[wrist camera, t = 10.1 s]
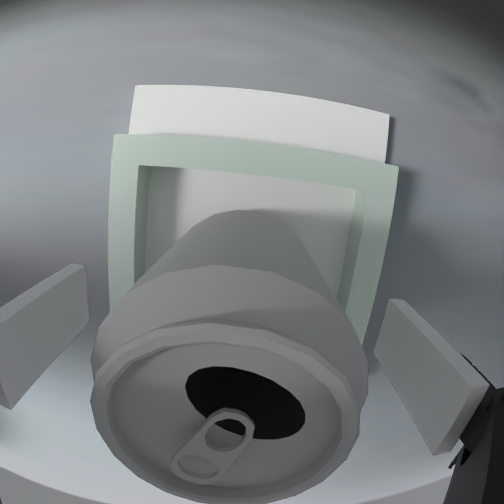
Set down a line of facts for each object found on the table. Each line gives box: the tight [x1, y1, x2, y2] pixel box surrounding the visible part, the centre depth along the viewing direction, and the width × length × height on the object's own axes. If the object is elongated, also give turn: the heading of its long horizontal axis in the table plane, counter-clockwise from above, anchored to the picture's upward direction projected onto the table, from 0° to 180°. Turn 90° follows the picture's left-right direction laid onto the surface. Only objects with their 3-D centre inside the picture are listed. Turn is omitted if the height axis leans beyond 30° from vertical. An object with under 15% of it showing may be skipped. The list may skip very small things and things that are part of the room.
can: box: [90, 210, 368, 504], centre depth 12 cm, size 8×8×12 cm
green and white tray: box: [108, 85, 399, 345], centre depth 17 cm, size 14×20×2 cm
